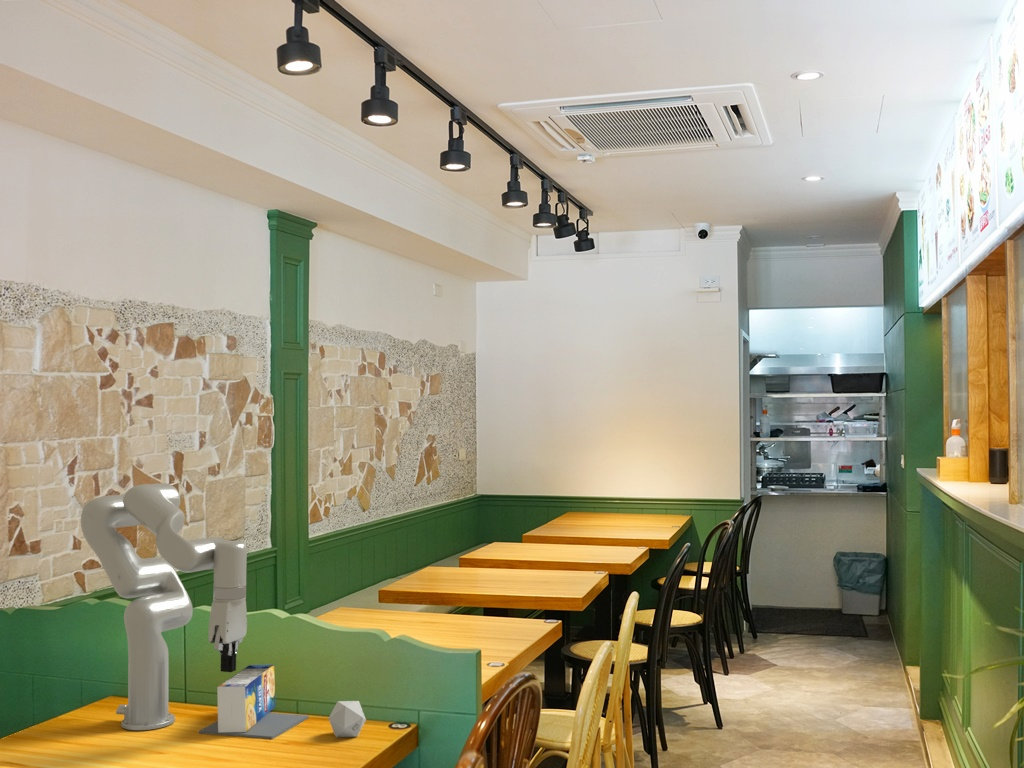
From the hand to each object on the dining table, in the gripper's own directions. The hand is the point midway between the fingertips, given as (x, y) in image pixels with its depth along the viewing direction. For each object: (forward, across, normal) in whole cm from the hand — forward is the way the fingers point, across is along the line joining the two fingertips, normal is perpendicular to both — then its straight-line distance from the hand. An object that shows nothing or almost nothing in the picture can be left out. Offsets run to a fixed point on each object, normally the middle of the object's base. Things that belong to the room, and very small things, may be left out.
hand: (228, 670), depth 237 cm
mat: (+16, -11, +1) cm, 19 cm away
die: (+15, -9, +27) cm, 32 cm away
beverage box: (+10, -2, 0) cm, 10 cm away
